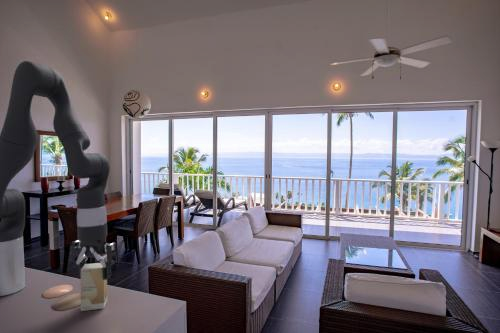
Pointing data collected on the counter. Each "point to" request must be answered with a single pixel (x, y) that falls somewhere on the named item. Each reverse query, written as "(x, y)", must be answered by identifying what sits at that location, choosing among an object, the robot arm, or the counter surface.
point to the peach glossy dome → (57, 291)
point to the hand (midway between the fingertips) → (94, 277)
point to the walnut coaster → (68, 302)
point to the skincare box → (93, 287)
